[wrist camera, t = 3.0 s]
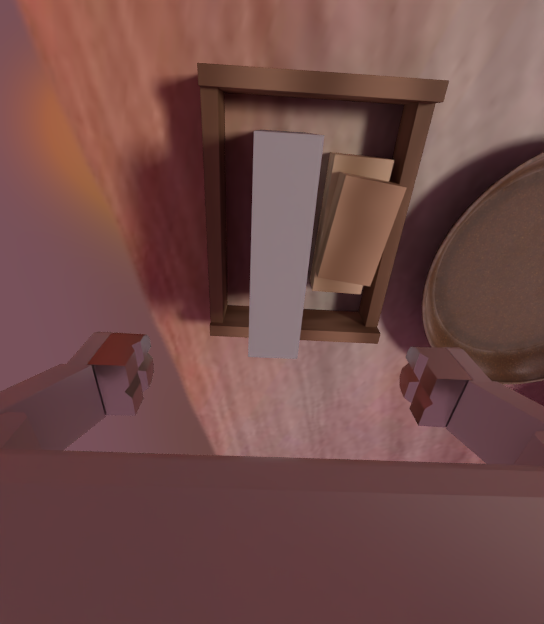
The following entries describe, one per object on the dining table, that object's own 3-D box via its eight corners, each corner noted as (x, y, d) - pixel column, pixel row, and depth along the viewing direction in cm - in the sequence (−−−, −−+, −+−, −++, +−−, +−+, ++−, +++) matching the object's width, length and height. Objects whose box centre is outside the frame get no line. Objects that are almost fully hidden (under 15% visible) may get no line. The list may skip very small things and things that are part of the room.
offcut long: (383, 157, 23) (394, 160, 21) (353, 281, 28) (360, 294, 26) (329, 152, 23) (335, 154, 21) (309, 278, 28) (312, 290, 26)
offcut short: (396, 183, 22) (406, 187, 20) (363, 275, 25) (370, 286, 24) (339, 171, 22) (345, 175, 20) (314, 267, 25) (317, 277, 23)
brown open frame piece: (423, 87, 21) (449, 80, 18) (367, 321, 30) (377, 343, 27) (208, 72, 21) (197, 62, 17) (216, 314, 29) (210, 335, 26)
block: (304, 132, 22) (324, 135, 14) (289, 288, 28) (297, 358, 20) (261, 129, 22) (253, 130, 14) (255, 286, 28) (248, 356, 20)
